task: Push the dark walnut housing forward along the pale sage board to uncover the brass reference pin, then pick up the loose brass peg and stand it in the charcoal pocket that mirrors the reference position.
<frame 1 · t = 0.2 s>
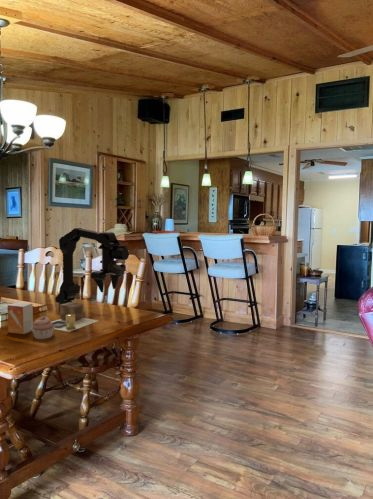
hand: (108, 290, 198), 14 cm above the table, fingers open, 9 cm apart
small box: (20, 334, 176), on the table
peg: (70, 328, 181), point 1 cm above the table, touching board
housing: (71, 311, 195), point 5 cm above the table, slide at 0.0 cm
board: (69, 325, 189), on the table
cupcake: (43, 339, 169), on the table
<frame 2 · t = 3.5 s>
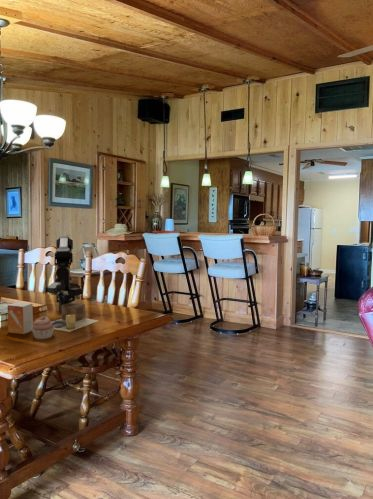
hand: (64, 308, 197), 6 cm above the table, fingers closed
housing: (73, 311, 195), point 5 cm above the table, slide at 1.0 cm, touching gripper
everything else where it was.
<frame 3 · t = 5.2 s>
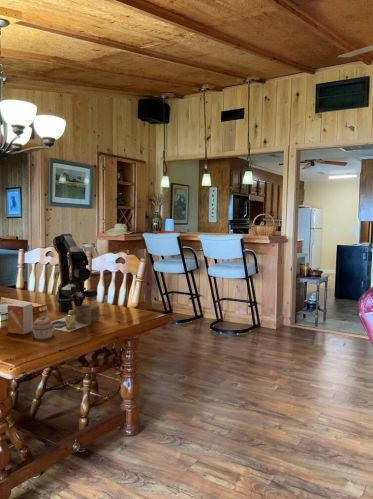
hand: (78, 310, 194), 6 cm above the table, fingers closed
housing: (87, 313, 191), point 5 cm above the table, slide at 9.5 cm, touching gripper
everything else where it was.
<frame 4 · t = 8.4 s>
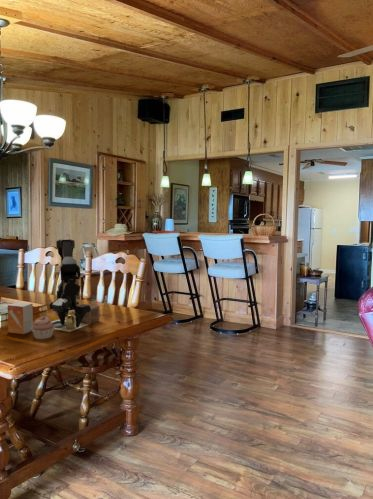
hand: (70, 326, 181), 2 cm above the table, fingers open, 8 cm apart
housing: (87, 313, 191), point 5 cm above the table, slide at 9.5 cm
everything else where it was.
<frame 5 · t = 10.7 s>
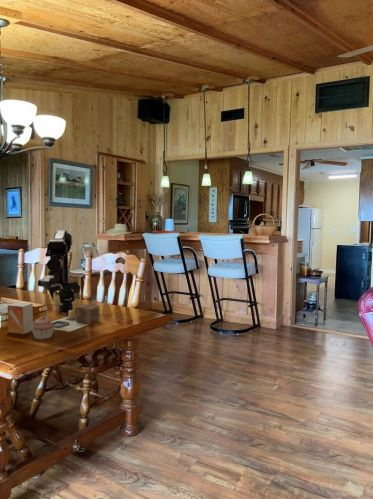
hand: (58, 302, 184), 12 cm above the table, fingers closed on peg, 4 cm apart
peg: (58, 304, 184), point 11 cm above the table, touching gripper
everything else where it was.
when the fingers open (3 cm above the table, at t = 12.4 s): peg drops 1 cm, resting on board.
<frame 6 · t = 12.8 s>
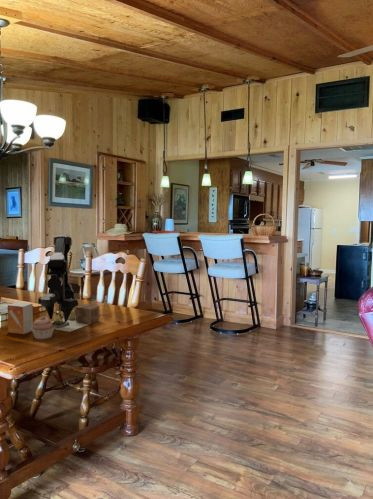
hand: (58, 320, 185), 3 cm above the table, fingers open, 8 cm apart
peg: (58, 324, 185), point 1 cm above the table, touching board
everything else where it was.
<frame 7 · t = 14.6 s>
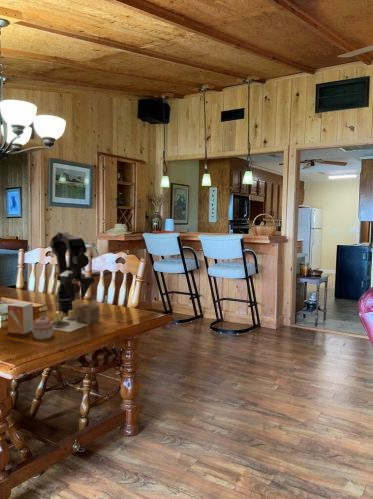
hand: (75, 296, 197), 12 cm above the table, fingers open, 9 cm apart
nothing on the table moved.
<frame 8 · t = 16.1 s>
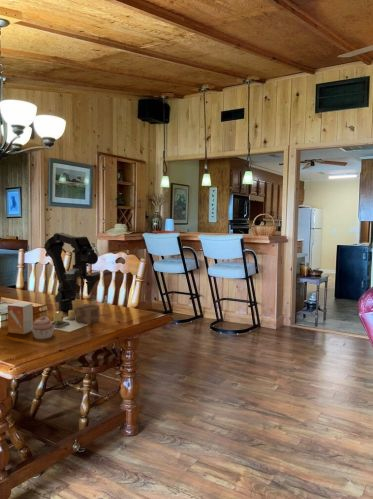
hand: (81, 294, 201), 12 cm above the table, fingers open, 9 cm apart
nothing on the table moved.
at the end: housing slide at 9.5 cm; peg 0.0 cm from the target spot, point 1.4 cm above the table; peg tilted 0° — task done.
